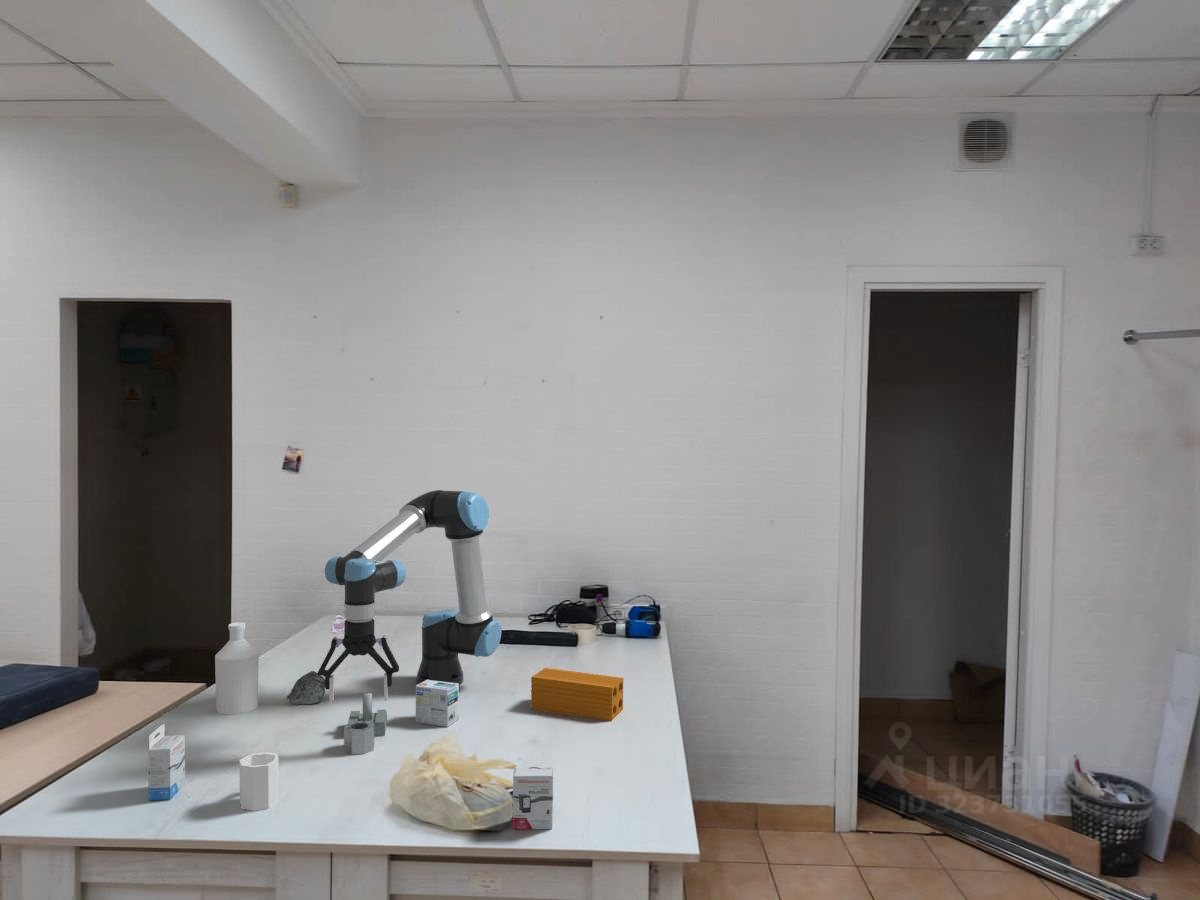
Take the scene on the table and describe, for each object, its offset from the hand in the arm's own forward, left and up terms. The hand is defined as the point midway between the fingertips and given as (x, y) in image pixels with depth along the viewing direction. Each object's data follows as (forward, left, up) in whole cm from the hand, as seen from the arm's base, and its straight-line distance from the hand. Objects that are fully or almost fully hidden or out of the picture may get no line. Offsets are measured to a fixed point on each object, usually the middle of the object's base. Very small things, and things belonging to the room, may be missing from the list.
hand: (358, 700), depth 220 cm
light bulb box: (-20, -17, -13) cm, 30 cm away
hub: (0, 0, -13) cm, 13 cm away
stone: (+18, -40, -13) cm, 46 cm away
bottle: (+38, -37, -13) cm, 55 cm away
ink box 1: (+41, +19, -13) cm, 47 cm away
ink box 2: (-40, +48, -13) cm, 64 cm away
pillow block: (-1, -13, -13) cm, 18 cm away
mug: (+19, +26, -13) cm, 35 cm away
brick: (-61, -20, -13) cm, 66 cm away
